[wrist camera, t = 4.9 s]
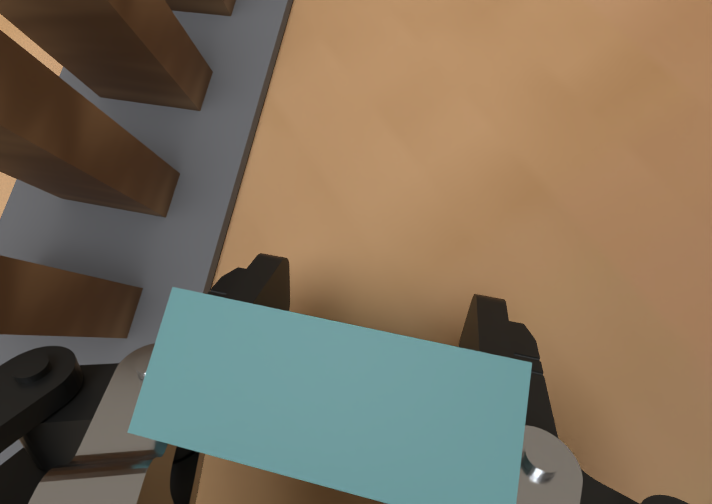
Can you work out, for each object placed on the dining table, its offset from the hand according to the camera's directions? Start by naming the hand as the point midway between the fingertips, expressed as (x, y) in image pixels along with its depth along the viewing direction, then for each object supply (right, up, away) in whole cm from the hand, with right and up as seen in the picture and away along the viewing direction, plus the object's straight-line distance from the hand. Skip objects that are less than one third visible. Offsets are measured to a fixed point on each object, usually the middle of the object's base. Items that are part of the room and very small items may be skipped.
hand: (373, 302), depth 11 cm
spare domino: (0, -3, +4) cm, 5 cm away
